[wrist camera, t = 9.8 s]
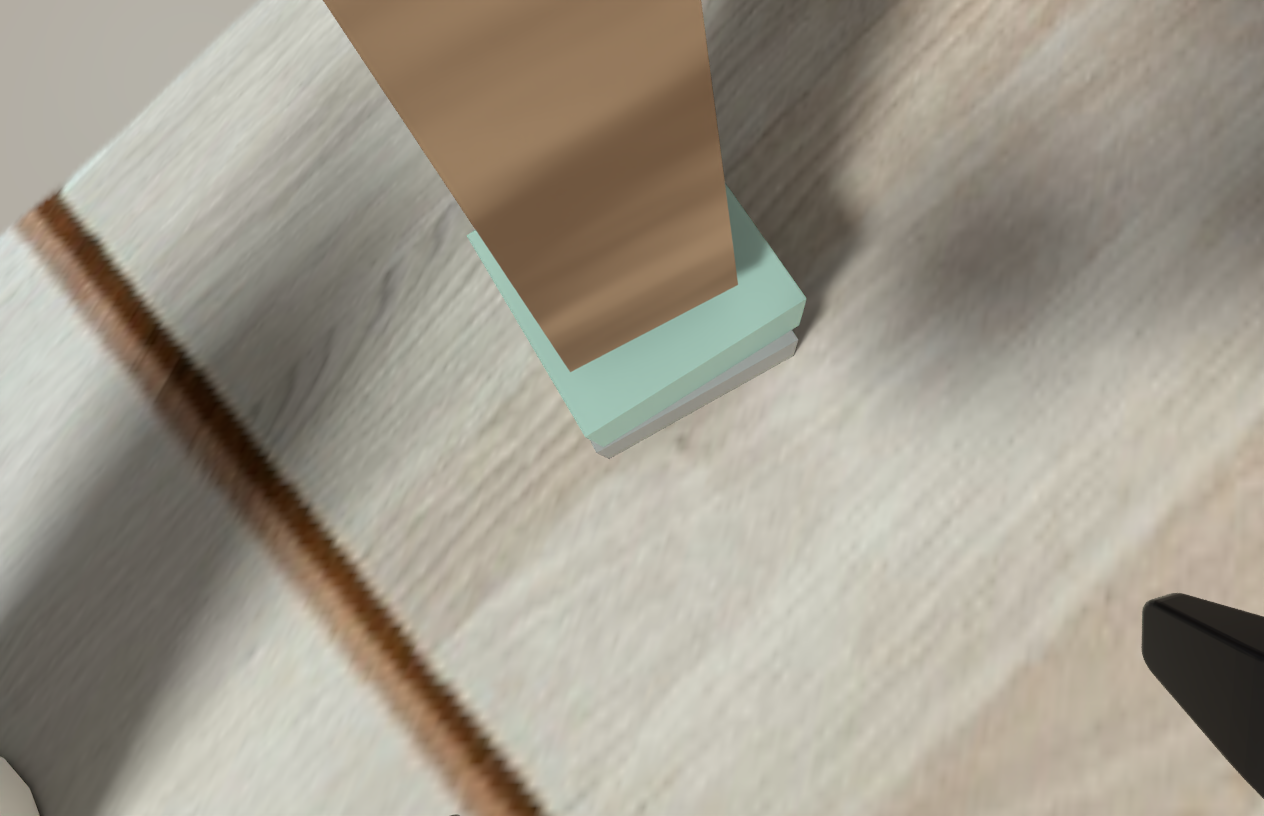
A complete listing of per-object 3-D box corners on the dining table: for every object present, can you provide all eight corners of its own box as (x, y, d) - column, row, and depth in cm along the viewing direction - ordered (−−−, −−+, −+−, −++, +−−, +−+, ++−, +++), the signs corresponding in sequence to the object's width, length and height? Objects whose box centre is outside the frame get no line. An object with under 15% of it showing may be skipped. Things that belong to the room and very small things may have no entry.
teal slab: (799, 324, 20) (806, 298, 18) (603, 447, 20) (585, 437, 18) (678, 149, 22) (670, 104, 19) (496, 266, 22) (466, 235, 20)
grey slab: (792, 358, 22) (798, 340, 20) (611, 460, 23) (596, 452, 21) (691, 193, 24) (685, 157, 22) (521, 291, 24) (498, 266, 22)
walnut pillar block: (738, 284, 17) (617, -640, 5) (570, 372, 17) (85, -357, 5) (656, 160, 19) (436, -721, 7) (506, 239, 19) (45, -513, 7)
